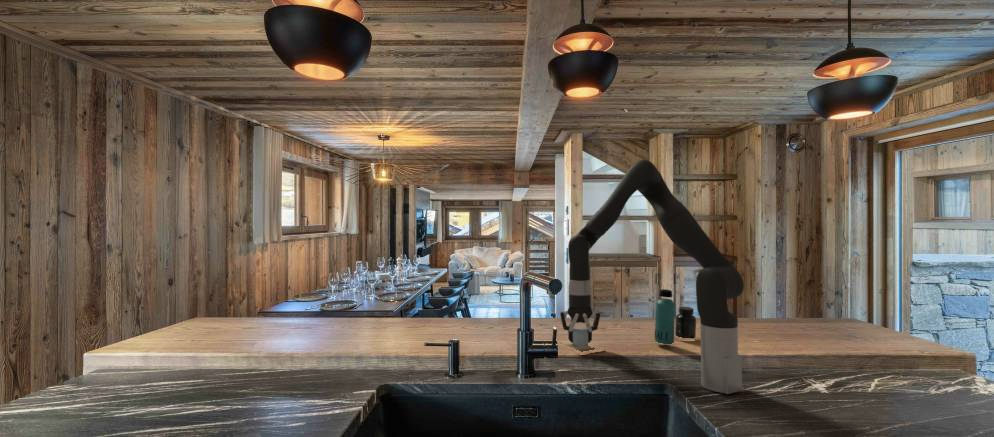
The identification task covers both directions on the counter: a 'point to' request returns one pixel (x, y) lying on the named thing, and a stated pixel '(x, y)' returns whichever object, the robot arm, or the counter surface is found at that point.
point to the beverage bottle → (664, 318)
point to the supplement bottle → (685, 323)
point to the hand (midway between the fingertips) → (580, 341)
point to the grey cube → (580, 337)
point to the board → (577, 346)
